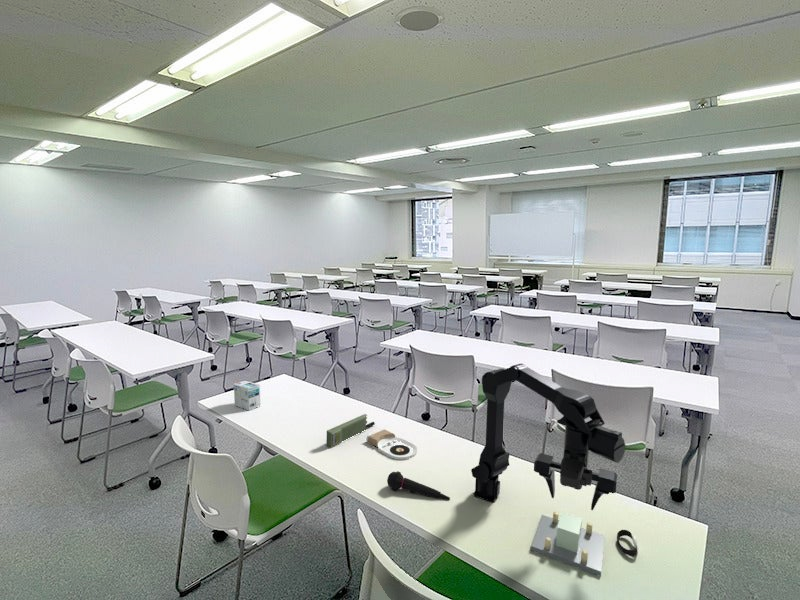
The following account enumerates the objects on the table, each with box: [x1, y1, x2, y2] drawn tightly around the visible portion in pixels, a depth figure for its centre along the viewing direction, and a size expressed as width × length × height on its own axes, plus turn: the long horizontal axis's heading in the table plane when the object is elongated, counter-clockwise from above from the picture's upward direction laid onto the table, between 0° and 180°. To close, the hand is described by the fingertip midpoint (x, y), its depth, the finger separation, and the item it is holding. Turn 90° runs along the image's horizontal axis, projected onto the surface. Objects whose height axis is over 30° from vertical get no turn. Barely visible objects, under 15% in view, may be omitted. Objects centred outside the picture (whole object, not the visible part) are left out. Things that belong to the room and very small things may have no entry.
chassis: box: [530, 511, 606, 577], centre depth 105 cm, size 16×14×4 cm
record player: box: [366, 428, 418, 461], centre depth 154 cm, size 12×3×20 cm
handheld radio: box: [325, 413, 376, 449], centre depth 163 cm, size 7×3×25 cm
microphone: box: [386, 471, 451, 500], centre depth 126 cm, size 6×6×20 cm
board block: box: [556, 511, 583, 553], centre depth 105 cm, size 5×7×5 cm
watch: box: [616, 529, 639, 557], centre depth 105 cm, size 8×5×4 cm, turn 165°
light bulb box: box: [233, 380, 261, 411], centre depth 190 cm, size 11×7×11 cm, turn 58°
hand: (572, 503), depth 104 cm, fingers open, 9 cm apart
